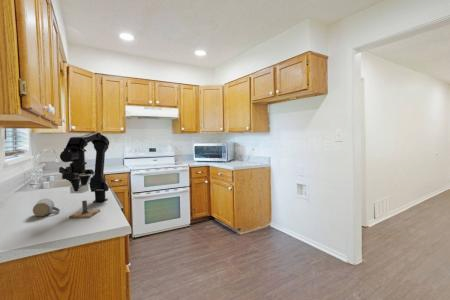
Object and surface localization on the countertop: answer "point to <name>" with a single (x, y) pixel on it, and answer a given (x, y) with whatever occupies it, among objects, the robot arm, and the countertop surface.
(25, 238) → the countertop surface
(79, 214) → the keeper
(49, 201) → the ceramic mug
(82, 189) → the grey square socket
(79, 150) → the robot arm
